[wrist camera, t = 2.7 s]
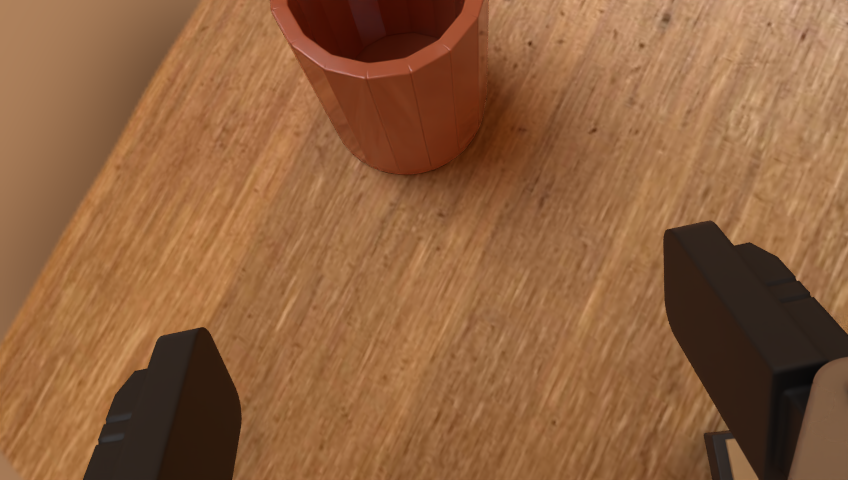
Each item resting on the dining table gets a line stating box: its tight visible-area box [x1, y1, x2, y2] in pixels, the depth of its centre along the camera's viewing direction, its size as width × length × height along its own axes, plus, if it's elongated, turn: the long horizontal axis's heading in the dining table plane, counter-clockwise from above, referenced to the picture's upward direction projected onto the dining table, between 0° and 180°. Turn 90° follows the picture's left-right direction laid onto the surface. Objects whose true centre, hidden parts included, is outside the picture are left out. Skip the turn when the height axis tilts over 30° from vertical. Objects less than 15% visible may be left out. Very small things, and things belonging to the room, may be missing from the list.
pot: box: [270, 0, 489, 174], centre depth 25 cm, size 6×6×9 cm
